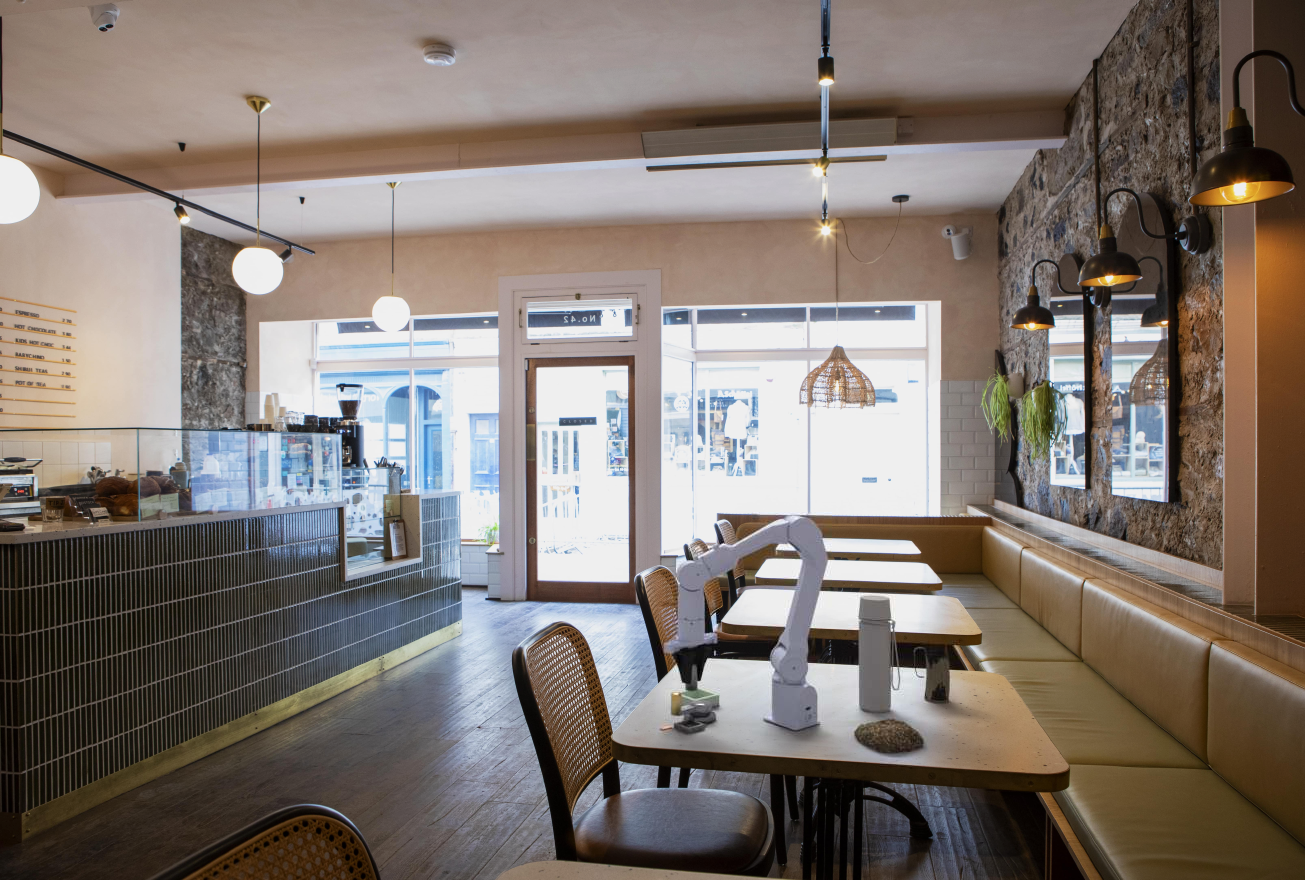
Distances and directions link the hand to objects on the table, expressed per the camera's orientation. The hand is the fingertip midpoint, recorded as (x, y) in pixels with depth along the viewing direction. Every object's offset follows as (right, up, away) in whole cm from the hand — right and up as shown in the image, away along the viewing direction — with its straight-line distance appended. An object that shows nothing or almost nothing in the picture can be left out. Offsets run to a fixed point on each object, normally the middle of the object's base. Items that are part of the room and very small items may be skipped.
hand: (691, 681), depth 180 cm
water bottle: (+43, -9, +10) cm, 45 cm away
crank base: (0, -9, 0) cm, 9 cm away
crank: (0, -8, +1) cm, 8 cm away
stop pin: (0, -2, 0) cm, 2 cm away
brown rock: (+39, -9, -11) cm, 42 cm away
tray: (+2, -9, +13) cm, 16 cm away
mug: (+57, -9, +17) cm, 60 cm away
